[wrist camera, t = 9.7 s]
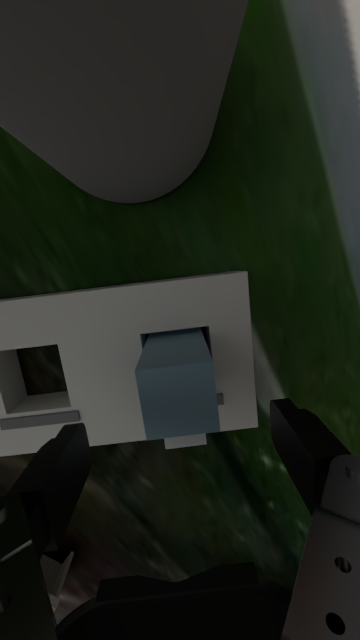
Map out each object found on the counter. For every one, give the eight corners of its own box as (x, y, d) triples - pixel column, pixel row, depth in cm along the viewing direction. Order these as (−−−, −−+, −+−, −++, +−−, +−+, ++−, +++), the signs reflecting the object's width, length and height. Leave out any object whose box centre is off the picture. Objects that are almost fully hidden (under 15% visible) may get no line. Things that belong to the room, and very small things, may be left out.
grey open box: (23, 504, 26) (-41, 605, 19) (84, 536, 27) (47, 645, 19) (4, 532, 27) (-66, 642, 19) (65, 562, 28) (21, 679, 20)
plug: (151, 329, 23) (134, 371, 14) (198, 323, 23) (212, 360, 14) (160, 389, 24) (150, 463, 15) (205, 383, 24) (223, 454, 15)
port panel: (-34, 303, 22) (-70, 310, 19) (237, 270, 22) (248, 271, 18) (3, 435, 24) (-23, 461, 21) (248, 407, 24) (259, 429, 21)
